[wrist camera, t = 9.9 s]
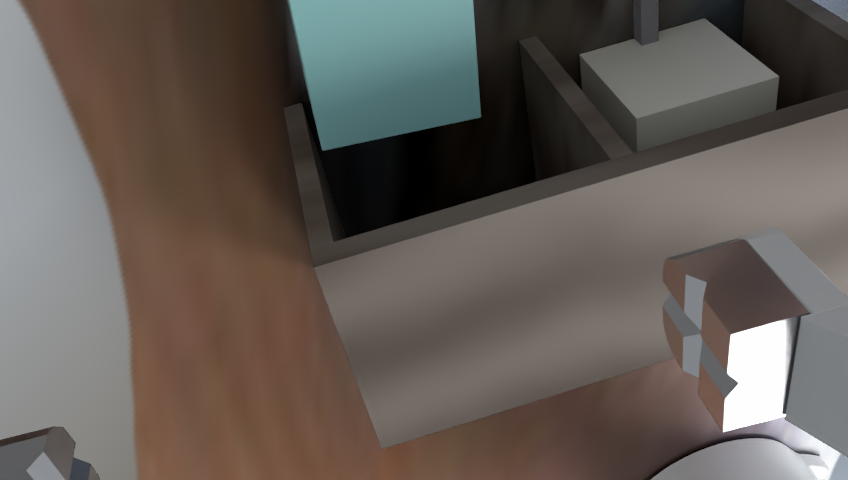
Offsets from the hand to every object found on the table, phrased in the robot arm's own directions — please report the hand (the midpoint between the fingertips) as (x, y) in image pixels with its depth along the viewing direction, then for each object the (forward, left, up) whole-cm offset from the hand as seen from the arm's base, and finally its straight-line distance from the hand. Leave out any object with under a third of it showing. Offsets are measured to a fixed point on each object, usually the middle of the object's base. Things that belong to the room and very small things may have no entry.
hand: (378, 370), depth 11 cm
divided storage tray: (-13, -9, -24) cm, 29 cm away
